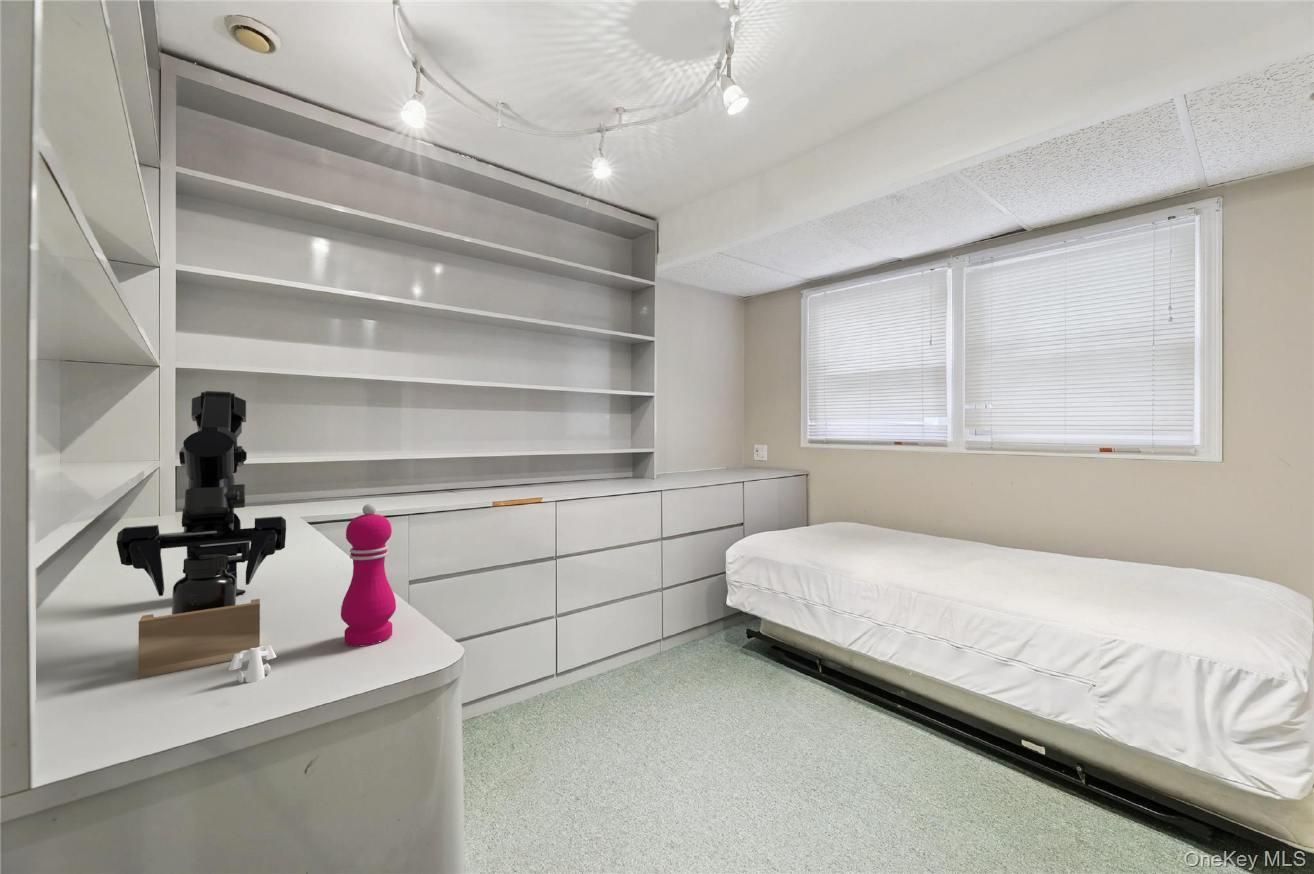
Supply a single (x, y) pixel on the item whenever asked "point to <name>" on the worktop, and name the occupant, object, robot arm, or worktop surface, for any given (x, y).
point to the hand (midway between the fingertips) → (205, 588)
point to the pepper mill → (368, 581)
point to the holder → (196, 638)
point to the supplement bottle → (204, 585)
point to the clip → (253, 663)
